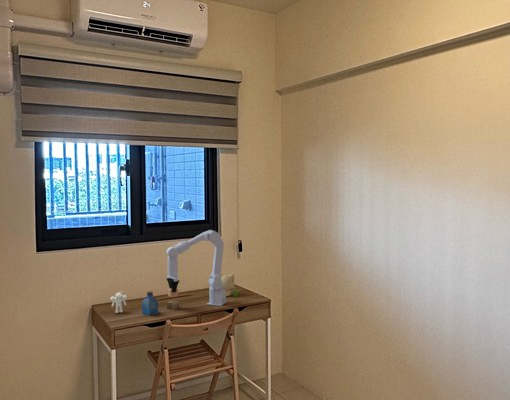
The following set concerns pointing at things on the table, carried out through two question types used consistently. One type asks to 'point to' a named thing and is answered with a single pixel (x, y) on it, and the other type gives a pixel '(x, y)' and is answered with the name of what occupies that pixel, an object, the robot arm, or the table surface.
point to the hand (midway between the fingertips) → (172, 291)
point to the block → (172, 293)
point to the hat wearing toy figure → (118, 301)
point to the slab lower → (172, 307)
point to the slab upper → (173, 303)
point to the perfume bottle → (149, 305)
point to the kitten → (228, 284)
